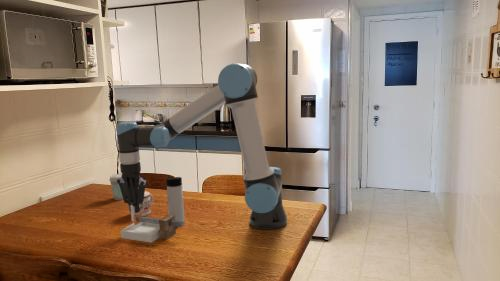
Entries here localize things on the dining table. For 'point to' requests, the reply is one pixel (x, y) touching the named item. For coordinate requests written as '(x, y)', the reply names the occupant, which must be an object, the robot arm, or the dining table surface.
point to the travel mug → (175, 198)
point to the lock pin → (155, 220)
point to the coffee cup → (116, 186)
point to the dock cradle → (141, 232)
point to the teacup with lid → (146, 204)
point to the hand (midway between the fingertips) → (135, 220)
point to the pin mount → (166, 227)
